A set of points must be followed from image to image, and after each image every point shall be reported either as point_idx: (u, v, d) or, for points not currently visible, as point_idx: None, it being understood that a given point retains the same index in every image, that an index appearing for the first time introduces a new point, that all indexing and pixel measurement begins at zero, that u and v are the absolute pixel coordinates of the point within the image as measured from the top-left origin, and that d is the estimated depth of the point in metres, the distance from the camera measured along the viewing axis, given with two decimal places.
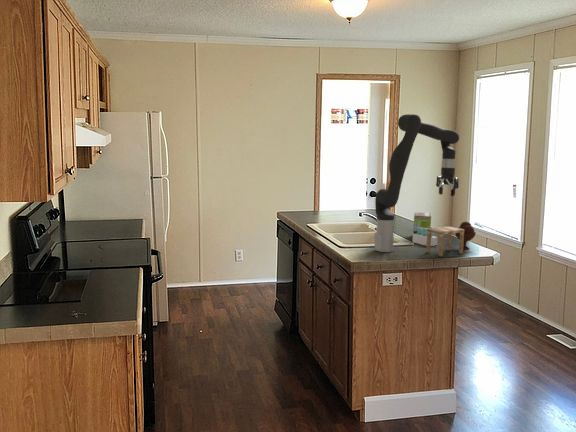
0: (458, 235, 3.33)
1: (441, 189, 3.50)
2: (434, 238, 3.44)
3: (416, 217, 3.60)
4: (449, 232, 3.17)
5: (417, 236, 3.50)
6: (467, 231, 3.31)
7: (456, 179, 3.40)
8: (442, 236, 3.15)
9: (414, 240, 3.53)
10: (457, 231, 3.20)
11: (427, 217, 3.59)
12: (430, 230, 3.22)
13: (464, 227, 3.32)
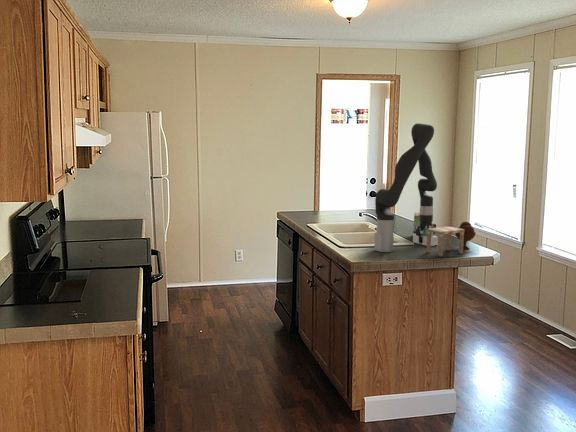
0: (458, 235, 3.33)
1: None
2: (434, 238, 3.44)
3: (416, 217, 3.60)
4: (449, 232, 3.17)
5: (417, 236, 3.51)
6: (467, 231, 3.31)
7: None
8: (442, 236, 3.15)
9: (415, 240, 3.53)
10: (457, 231, 3.20)
11: None
12: (430, 230, 3.22)
13: (464, 227, 3.32)
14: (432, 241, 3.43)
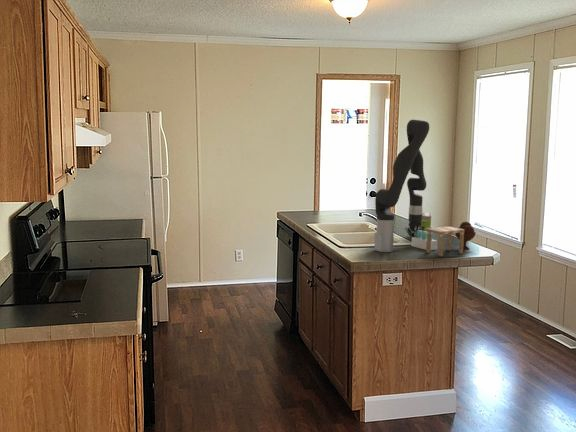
0: (458, 235, 3.33)
1: None
2: (434, 241, 3.33)
3: None
4: (449, 232, 3.17)
5: (416, 239, 3.39)
6: (467, 231, 3.31)
7: None
8: (442, 236, 3.15)
9: (413, 244, 3.42)
10: (457, 231, 3.20)
11: (427, 217, 3.59)
12: (430, 230, 3.22)
13: (464, 227, 3.32)
14: (431, 245, 3.32)
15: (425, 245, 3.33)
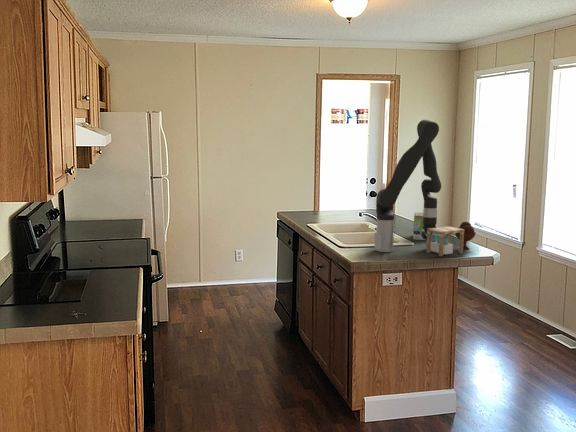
0: (458, 235, 3.33)
1: None
2: (450, 245, 3.23)
3: (416, 217, 3.60)
4: (449, 232, 3.17)
5: (431, 243, 3.30)
6: (467, 231, 3.31)
7: None
8: (442, 236, 3.15)
9: None
10: (457, 231, 3.20)
11: None
12: (430, 230, 3.22)
13: (464, 227, 3.32)
14: (447, 249, 3.22)
15: None
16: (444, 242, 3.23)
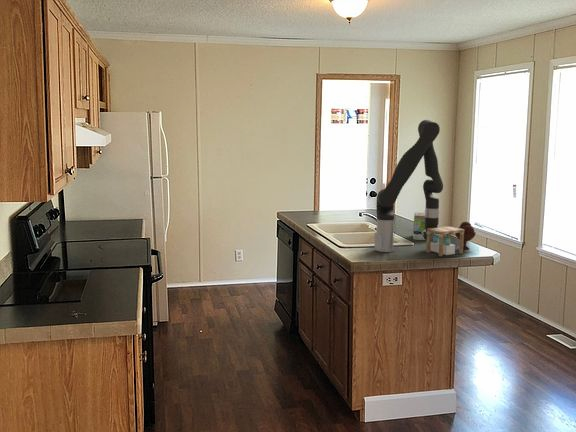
0: (458, 235, 3.33)
1: None
2: (452, 246, 3.22)
3: (416, 217, 3.60)
4: (449, 232, 3.17)
5: (433, 244, 3.28)
6: (467, 231, 3.31)
7: None
8: (442, 236, 3.15)
9: (430, 248, 3.30)
10: (457, 231, 3.20)
11: None
12: (430, 230, 3.22)
13: (464, 227, 3.32)
14: (449, 250, 3.21)
15: None
16: (446, 243, 3.22)
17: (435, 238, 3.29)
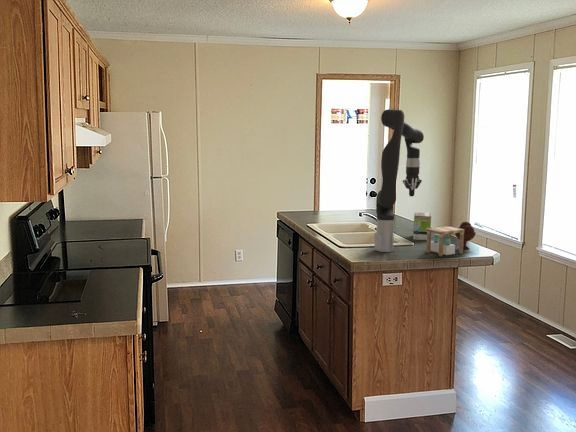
0: (458, 235, 3.33)
1: None
2: (452, 246, 3.22)
3: (416, 217, 3.60)
4: (449, 232, 3.17)
5: (433, 244, 3.28)
6: (467, 231, 3.31)
7: None
8: (442, 236, 3.15)
9: (430, 248, 3.30)
10: (457, 231, 3.20)
11: (427, 217, 3.59)
12: (430, 230, 3.22)
13: (464, 227, 3.32)
14: (449, 250, 3.21)
15: None
16: (446, 243, 3.22)
17: (435, 238, 3.29)
